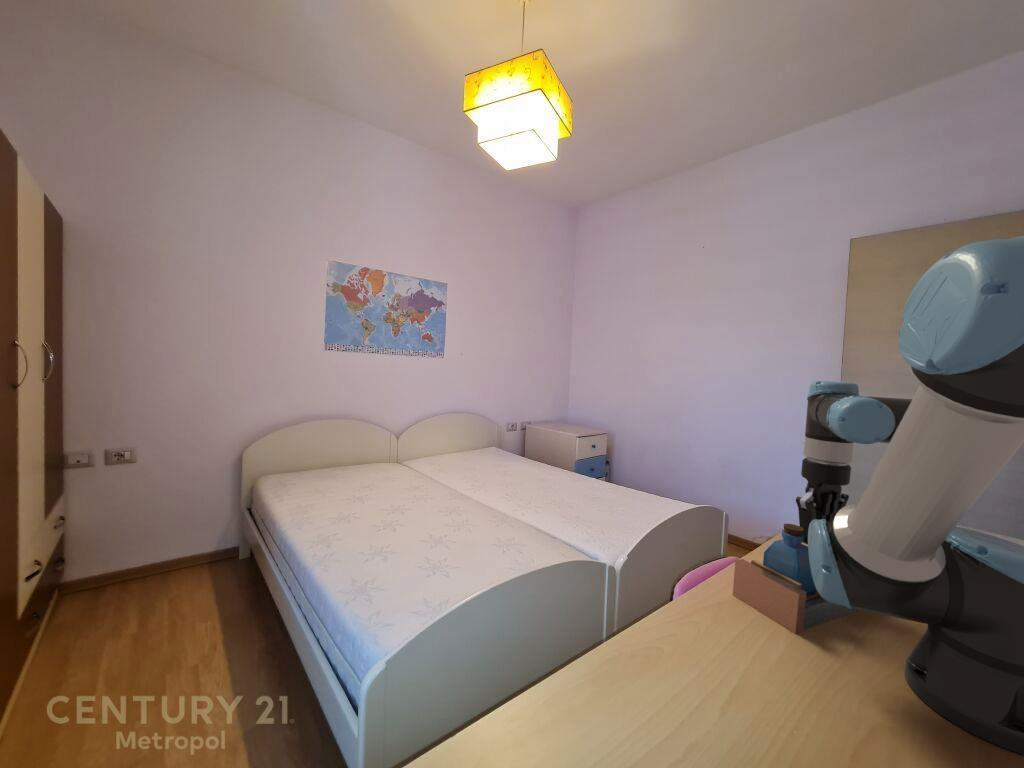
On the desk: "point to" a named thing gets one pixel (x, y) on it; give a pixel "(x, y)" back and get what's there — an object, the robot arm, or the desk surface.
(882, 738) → the desk surface
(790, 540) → the perfume bottle
